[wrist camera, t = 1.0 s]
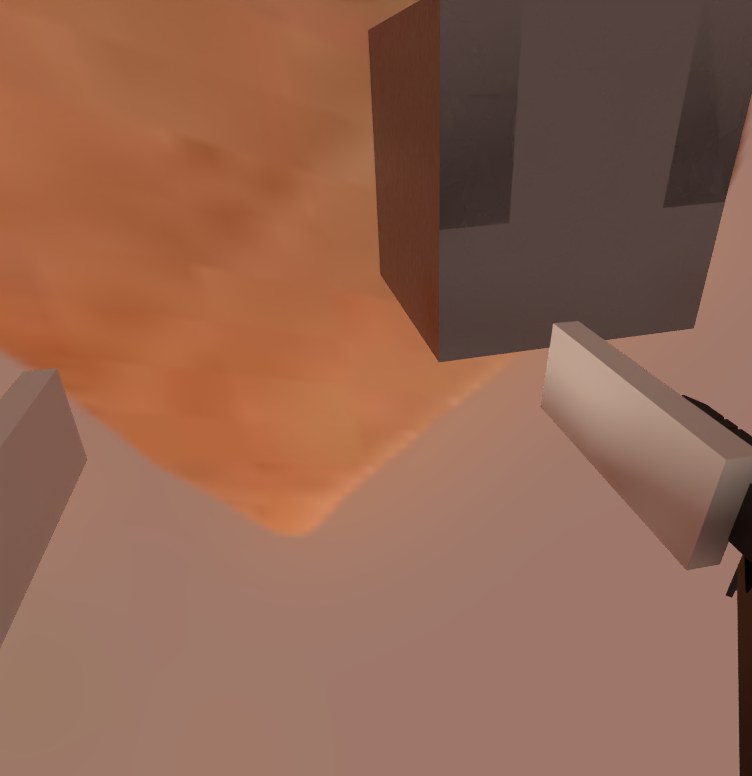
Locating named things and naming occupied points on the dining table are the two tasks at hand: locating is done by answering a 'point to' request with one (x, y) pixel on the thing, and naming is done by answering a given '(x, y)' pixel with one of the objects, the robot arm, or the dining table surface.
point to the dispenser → (554, 163)
